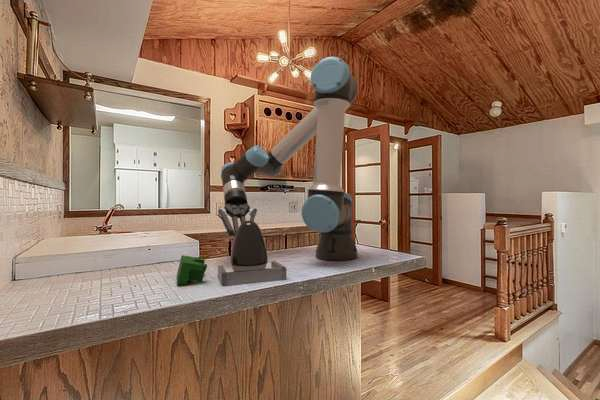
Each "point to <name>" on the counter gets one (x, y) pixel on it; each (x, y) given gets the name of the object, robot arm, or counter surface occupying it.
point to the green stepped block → (190, 269)
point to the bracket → (252, 275)
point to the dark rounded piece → (248, 248)
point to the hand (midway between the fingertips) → (244, 252)
